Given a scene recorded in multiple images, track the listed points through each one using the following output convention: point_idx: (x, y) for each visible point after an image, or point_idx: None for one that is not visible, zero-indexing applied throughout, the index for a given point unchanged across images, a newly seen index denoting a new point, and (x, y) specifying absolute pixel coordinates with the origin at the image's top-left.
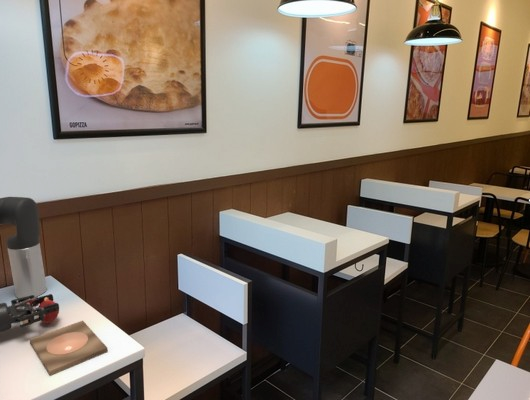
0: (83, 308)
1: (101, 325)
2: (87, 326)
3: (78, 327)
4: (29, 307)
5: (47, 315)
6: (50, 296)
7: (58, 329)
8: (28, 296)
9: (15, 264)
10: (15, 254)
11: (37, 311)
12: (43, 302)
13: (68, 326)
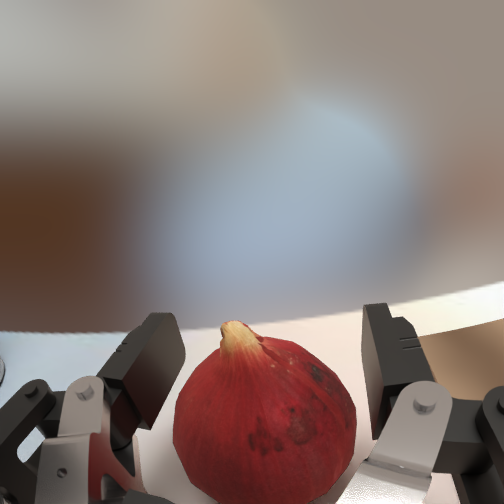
0: None
1: (452, 310)
2: (479, 326)
3: (476, 352)
4: None
5: (354, 442)
6: (167, 329)
7: None
8: (9, 407)
9: None
10: None
11: (498, 435)
12: (256, 379)
13: (450, 387)
